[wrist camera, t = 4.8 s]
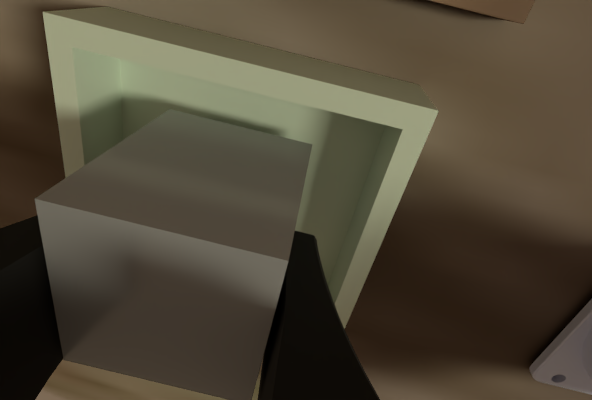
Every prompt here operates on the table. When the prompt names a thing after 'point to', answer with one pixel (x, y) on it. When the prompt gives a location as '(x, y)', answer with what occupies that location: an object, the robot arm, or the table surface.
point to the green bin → (248, 118)
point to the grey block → (175, 252)
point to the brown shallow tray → (494, 8)
